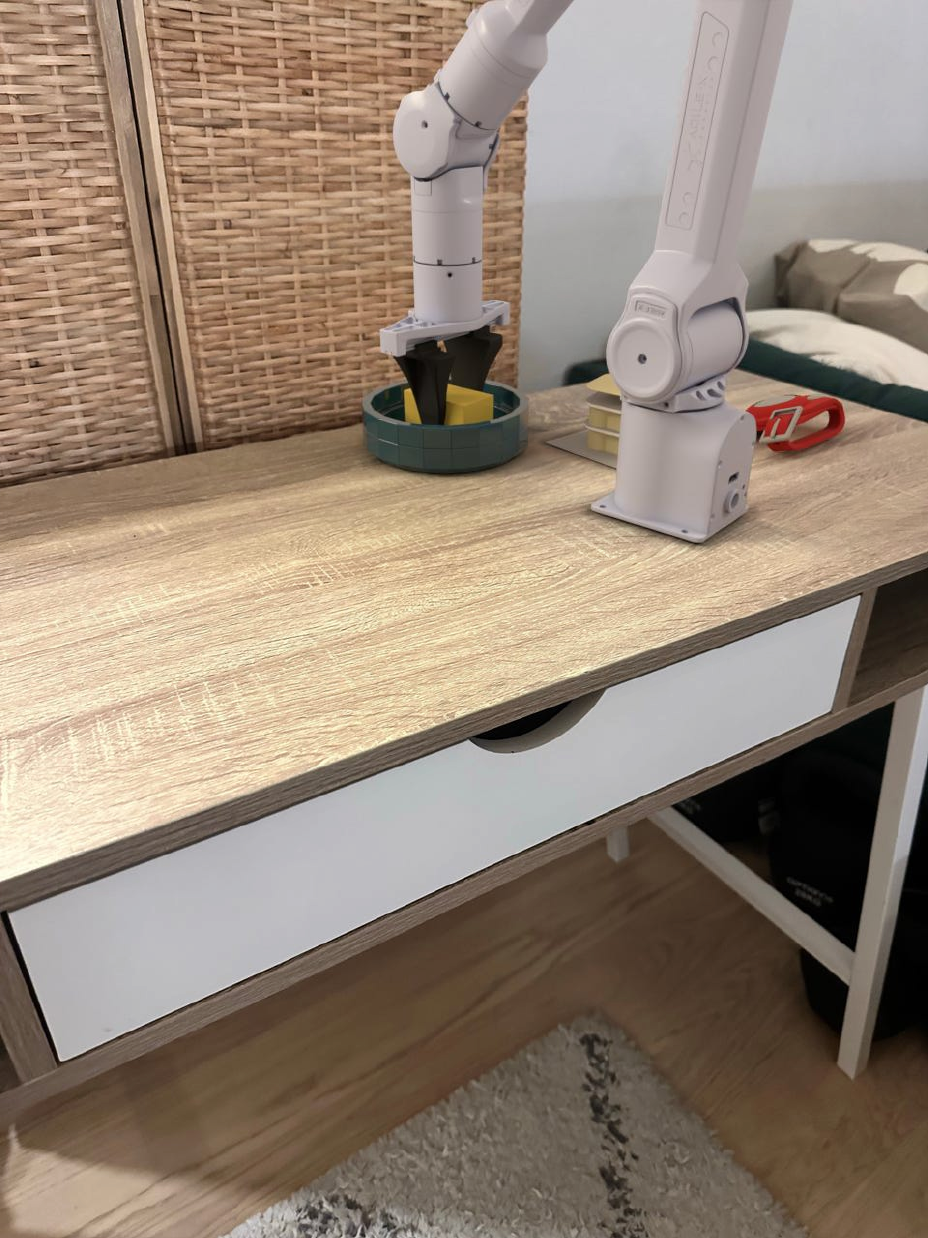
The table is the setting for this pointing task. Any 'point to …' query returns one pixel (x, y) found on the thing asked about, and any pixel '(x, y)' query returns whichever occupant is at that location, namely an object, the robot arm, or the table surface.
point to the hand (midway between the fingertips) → (449, 420)
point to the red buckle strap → (795, 419)
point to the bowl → (445, 433)
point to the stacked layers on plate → (598, 425)
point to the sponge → (456, 406)
